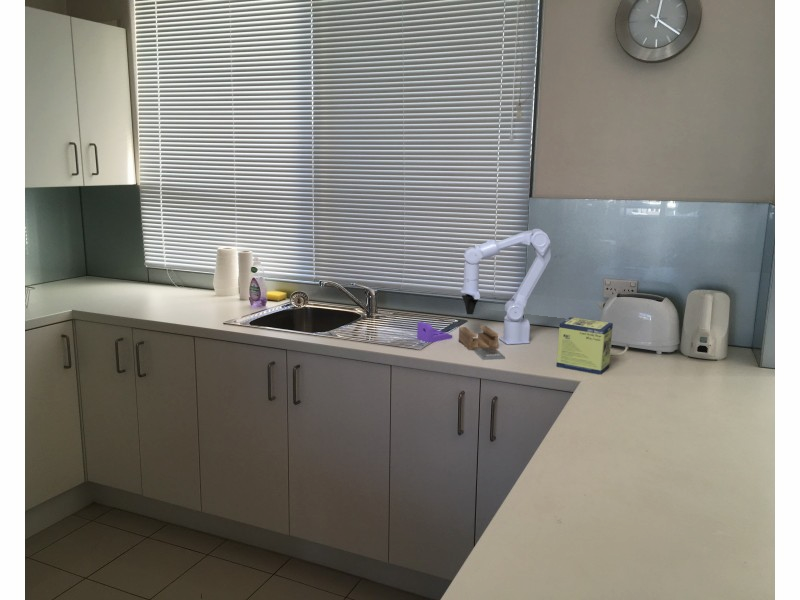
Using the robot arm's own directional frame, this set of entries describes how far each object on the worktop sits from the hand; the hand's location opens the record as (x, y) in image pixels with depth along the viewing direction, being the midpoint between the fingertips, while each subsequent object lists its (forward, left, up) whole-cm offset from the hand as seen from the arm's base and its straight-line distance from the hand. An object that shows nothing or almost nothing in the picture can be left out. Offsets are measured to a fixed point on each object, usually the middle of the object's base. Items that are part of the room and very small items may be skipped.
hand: (469, 314), depth 259 cm
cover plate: (0, +19, -11) cm, 22 cm away
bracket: (+12, -5, -11) cm, 17 cm away
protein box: (-27, +39, -11) cm, 49 cm away
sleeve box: (-1, +7, -10) cm, 13 cm away
